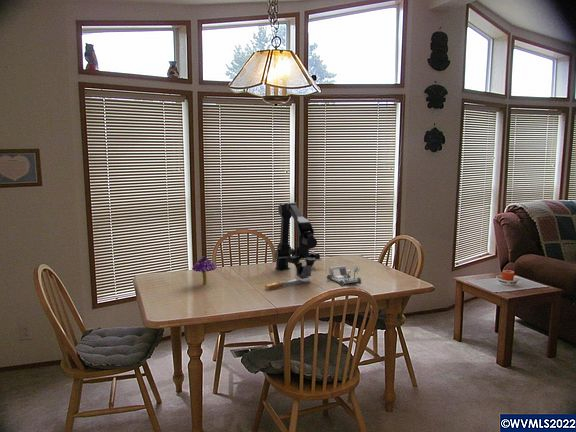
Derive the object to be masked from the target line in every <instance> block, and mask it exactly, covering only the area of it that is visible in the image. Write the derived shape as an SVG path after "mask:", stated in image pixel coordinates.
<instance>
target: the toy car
mask: <svg viewBox="0 0 576 432" xmlns="http://www.w3.org/2000/svg"><path fill="white" fill-rule="evenodd" d="M346 267H347V265H339V266H338V265H337V266H336V265H335V266H331V267H329V269H328V271H329V272H328V274H327V275H326V278H327V280H329V281H331V280H333V281H335V282H338V283H339V285H340V286H342V287H344V285H345V284H346V285H347V284H350V283H351V284H352V283H358V284H361V283H362V279H361V277H357V278H355V277H356V276H355V275H356V274H359V273H360V272H361V269H360V267H358V266H353V268H352V272H353V276H352V275H350V273H351V270H350V269H346Z"/></svg>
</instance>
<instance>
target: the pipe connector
mask: <svg viewBox="0 0 576 432" xmlns="http://www.w3.org/2000/svg"><path fill="white" fill-rule="evenodd" d="M312 252H314V253H315V250H311V252H310V253H312ZM314 260H316V259H315V258H314ZM303 261H305V259H304V260H303ZM305 262H306V261H305ZM315 262H322V257H320V259H317V260H316V261H315ZM315 262H314V263H313V265H312V267H311V269H314V268H315Z"/></svg>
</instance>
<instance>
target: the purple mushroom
mask: <svg viewBox="0 0 576 432" xmlns="http://www.w3.org/2000/svg"><path fill="white" fill-rule="evenodd" d="M191 269H192V270H193V271H194V272H198V273H200V272H201V273H202V274H201V275H202V284H203V285H204V286H205V285H207V274H206V273H207V272H211V271H214V270H217V266H216V265H215V264H214V263H213V262H212V261H211V260H209V259H208V258H207V257H206V256H202V257H201V258H200V259H198V261H197V262H196V263H195V264H194V265H193V266H192V267H191Z"/></svg>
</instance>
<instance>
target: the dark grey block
mask: <svg viewBox="0 0 576 432" xmlns="http://www.w3.org/2000/svg"><path fill="white" fill-rule="evenodd" d="M311 271H312V268H311V265H309V264H306V263H303V262H302V268H301V274H300V275H299V274H298V271H297V270H296V277H297V276H299V277H302V278H304V277H309V276H310V277H311V276H312V272H311Z"/></svg>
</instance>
